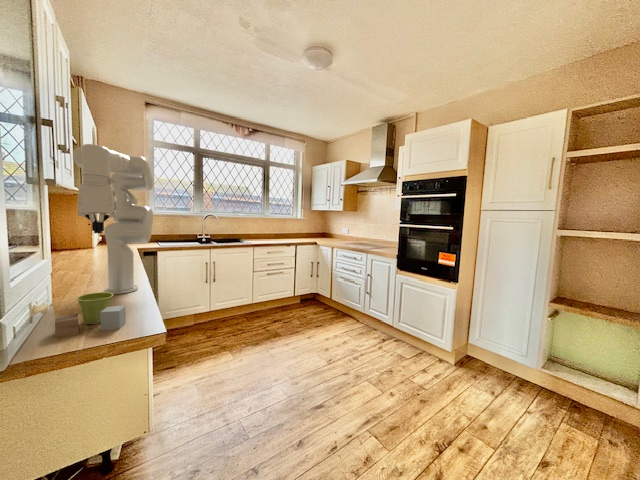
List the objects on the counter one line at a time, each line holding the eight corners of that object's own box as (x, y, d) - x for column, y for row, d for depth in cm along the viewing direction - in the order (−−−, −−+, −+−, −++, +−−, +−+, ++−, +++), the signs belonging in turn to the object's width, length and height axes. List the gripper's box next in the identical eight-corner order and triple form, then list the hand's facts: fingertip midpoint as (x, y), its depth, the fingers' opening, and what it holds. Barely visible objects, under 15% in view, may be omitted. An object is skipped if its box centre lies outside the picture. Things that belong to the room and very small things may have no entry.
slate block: (107, 324, 87) (107, 306, 87) (125, 323, 89) (125, 305, 88) (100, 330, 83) (99, 312, 82) (119, 329, 84) (119, 310, 84)
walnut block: (56, 332, 80) (55, 316, 79) (78, 328, 83) (78, 313, 83) (55, 339, 76) (54, 322, 76) (78, 334, 80) (78, 318, 79)
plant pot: (106, 314, 95) (106, 290, 95) (118, 320, 91) (118, 295, 90) (72, 322, 87) (71, 296, 87) (84, 329, 83) (83, 302, 82)
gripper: (124, 184, 100) (125, 232, 102) (72, 180, 93) (74, 232, 95) (120, 182, 93) (121, 234, 95) (64, 177, 86) (66, 233, 88)
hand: (98, 233), depth 95 cm, fingers closed
